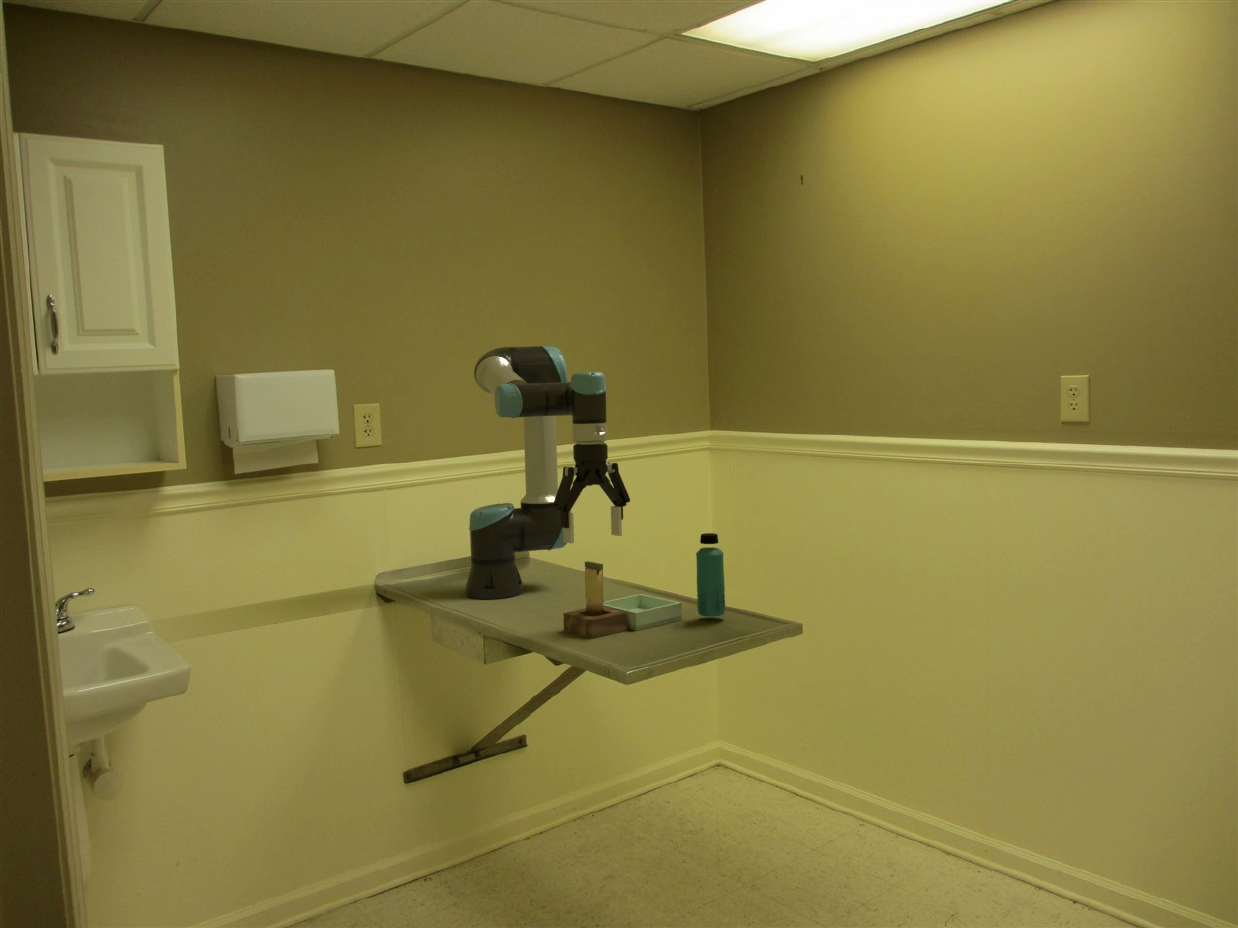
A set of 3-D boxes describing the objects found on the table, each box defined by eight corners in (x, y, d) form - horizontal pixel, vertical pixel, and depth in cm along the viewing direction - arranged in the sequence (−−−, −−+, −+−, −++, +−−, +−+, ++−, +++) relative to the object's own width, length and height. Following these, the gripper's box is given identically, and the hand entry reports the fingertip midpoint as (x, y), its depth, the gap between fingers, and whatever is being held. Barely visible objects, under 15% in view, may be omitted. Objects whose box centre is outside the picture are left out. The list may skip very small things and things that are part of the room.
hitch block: (564, 630, 222) (563, 612, 222) (598, 622, 229) (598, 605, 228) (592, 638, 215) (591, 620, 214) (627, 630, 221) (626, 612, 221)
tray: (596, 620, 231) (595, 603, 231) (641, 610, 240) (640, 593, 240) (636, 630, 220) (636, 612, 220) (681, 619, 229) (681, 602, 229)
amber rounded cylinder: (581, 629, 222) (579, 562, 221) (595, 626, 225) (593, 560, 224) (596, 634, 219) (594, 565, 217) (609, 630, 221) (608, 563, 220)
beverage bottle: (728, 622, 226) (726, 535, 224) (699, 623, 225) (697, 536, 223) (722, 615, 232) (721, 530, 230) (694, 617, 232) (692, 532, 230)
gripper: (555, 446, 207) (558, 547, 209) (643, 440, 224) (646, 533, 225) (533, 445, 213) (537, 544, 215) (621, 439, 229) (624, 530, 231)
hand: (593, 539), depth 220 cm, fingers open, 13 cm apart
